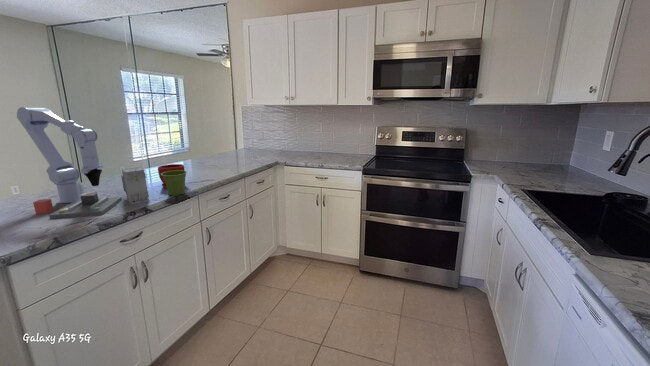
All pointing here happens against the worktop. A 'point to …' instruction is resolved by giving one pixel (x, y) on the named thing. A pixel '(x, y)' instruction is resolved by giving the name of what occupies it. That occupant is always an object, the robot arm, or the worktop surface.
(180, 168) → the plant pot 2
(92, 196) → the breaker handle
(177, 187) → the plant pot
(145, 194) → the circuit breaker
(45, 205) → the red rectangular block
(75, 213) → the breaker panel
